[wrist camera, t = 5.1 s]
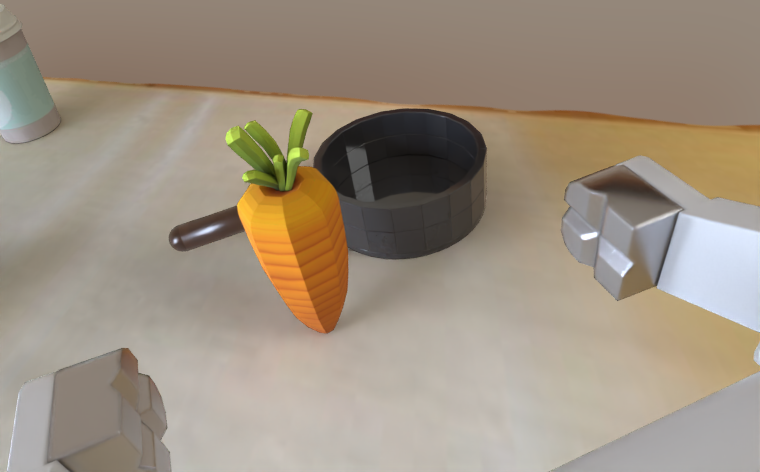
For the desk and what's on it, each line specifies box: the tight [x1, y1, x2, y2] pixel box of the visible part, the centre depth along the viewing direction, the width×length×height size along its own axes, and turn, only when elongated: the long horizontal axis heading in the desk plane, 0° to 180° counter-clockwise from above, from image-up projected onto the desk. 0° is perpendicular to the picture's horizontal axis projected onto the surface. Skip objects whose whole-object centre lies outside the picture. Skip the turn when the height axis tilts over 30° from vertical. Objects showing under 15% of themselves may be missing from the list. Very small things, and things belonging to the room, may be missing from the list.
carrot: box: [226, 109, 348, 333], centre depth 29 cm, size 5×5×15 cm
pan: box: [313, 109, 487, 259], centre depth 40 cm, size 12×12×4 cm
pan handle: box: [169, 206, 245, 251], centre depth 37 cm, size 11×2×2 cm, turn 112°
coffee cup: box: [0, 4, 61, 143], centre depth 55 cm, size 9×8×12 cm
